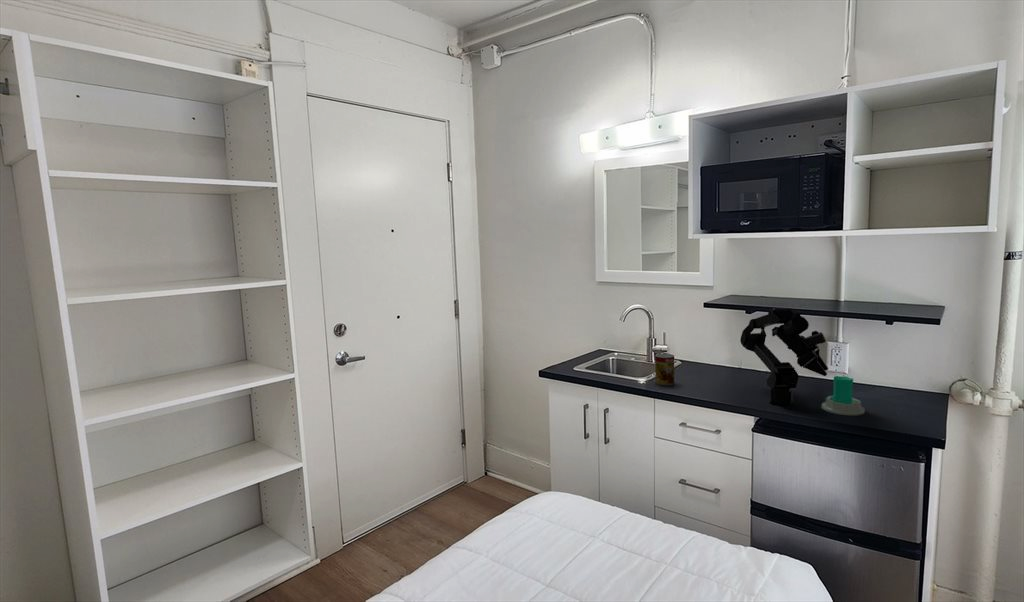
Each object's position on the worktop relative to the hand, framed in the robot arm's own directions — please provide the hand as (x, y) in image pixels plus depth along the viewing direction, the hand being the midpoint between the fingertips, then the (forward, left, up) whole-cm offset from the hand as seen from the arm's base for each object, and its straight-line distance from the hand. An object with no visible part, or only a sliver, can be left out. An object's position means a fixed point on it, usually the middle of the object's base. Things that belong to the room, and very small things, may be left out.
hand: (826, 372), depth 189 cm
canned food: (-61, 0, -14) cm, 63 cm away
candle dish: (+5, +4, -14) cm, 15 cm away
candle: (+4, +4, -13) cm, 14 cm away
